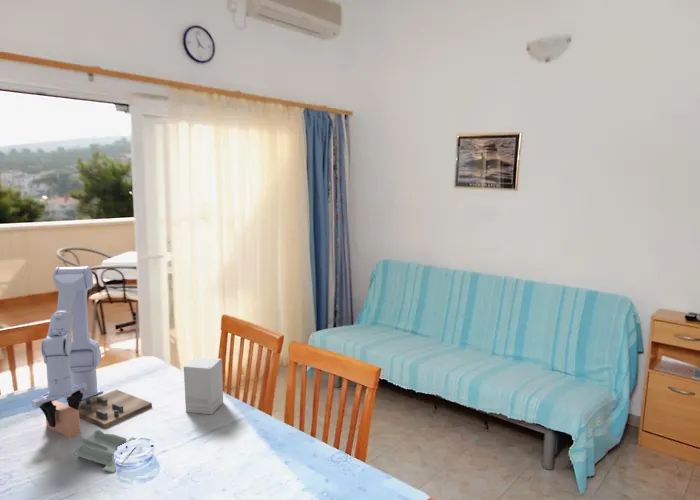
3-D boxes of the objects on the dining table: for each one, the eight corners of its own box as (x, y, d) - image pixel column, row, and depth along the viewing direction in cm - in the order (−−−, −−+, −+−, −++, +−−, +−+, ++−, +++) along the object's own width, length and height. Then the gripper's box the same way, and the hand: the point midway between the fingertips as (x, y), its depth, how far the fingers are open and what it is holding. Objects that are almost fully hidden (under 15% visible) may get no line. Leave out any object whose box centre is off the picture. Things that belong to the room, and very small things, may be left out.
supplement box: (224, 402, 165) (223, 358, 163) (212, 415, 157) (210, 368, 154) (198, 399, 167) (196, 355, 165) (184, 412, 158) (182, 366, 156)
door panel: (46, 426, 149) (44, 403, 147) (57, 422, 151) (55, 400, 150) (70, 438, 142) (68, 414, 141) (80, 433, 145) (78, 410, 144)
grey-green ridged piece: (65, 450, 126) (97, 420, 141) (60, 470, 127) (93, 439, 142) (120, 467, 126) (147, 436, 141) (115, 488, 127) (142, 454, 142)
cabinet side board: (69, 411, 157) (68, 403, 157) (116, 392, 171) (116, 385, 170) (104, 428, 148) (104, 419, 148) (151, 406, 161) (151, 398, 161)
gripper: (40, 389, 136) (44, 436, 138) (92, 371, 148) (94, 415, 150) (26, 383, 140) (30, 429, 142) (77, 366, 152) (81, 409, 154)
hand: (62, 421), depth 146 cm, fingers open, 5 cm apart
